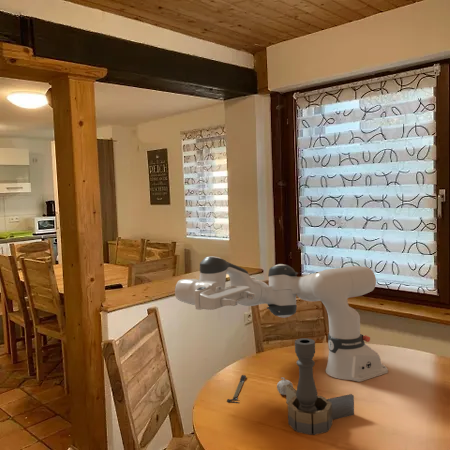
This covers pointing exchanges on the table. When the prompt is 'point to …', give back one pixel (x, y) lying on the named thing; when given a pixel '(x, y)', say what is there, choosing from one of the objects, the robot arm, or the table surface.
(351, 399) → the octagonal collar with flanges
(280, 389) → the garlic
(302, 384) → the candle holder
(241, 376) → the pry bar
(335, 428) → the table surface
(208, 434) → the table surface
